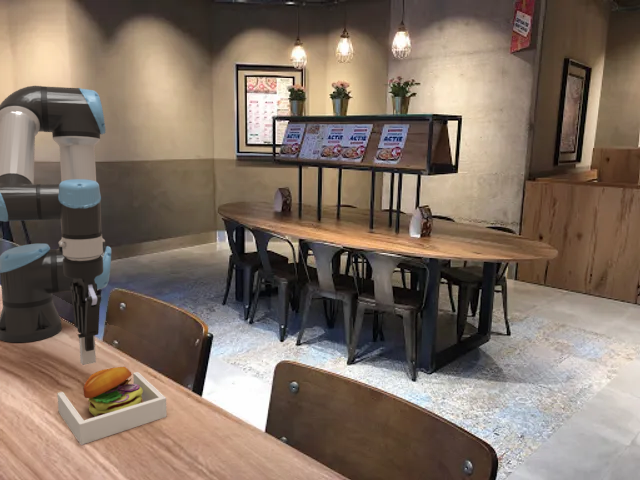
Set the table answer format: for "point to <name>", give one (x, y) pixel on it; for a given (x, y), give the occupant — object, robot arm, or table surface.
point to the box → (114, 414)
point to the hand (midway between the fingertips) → (88, 362)
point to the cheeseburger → (111, 391)
